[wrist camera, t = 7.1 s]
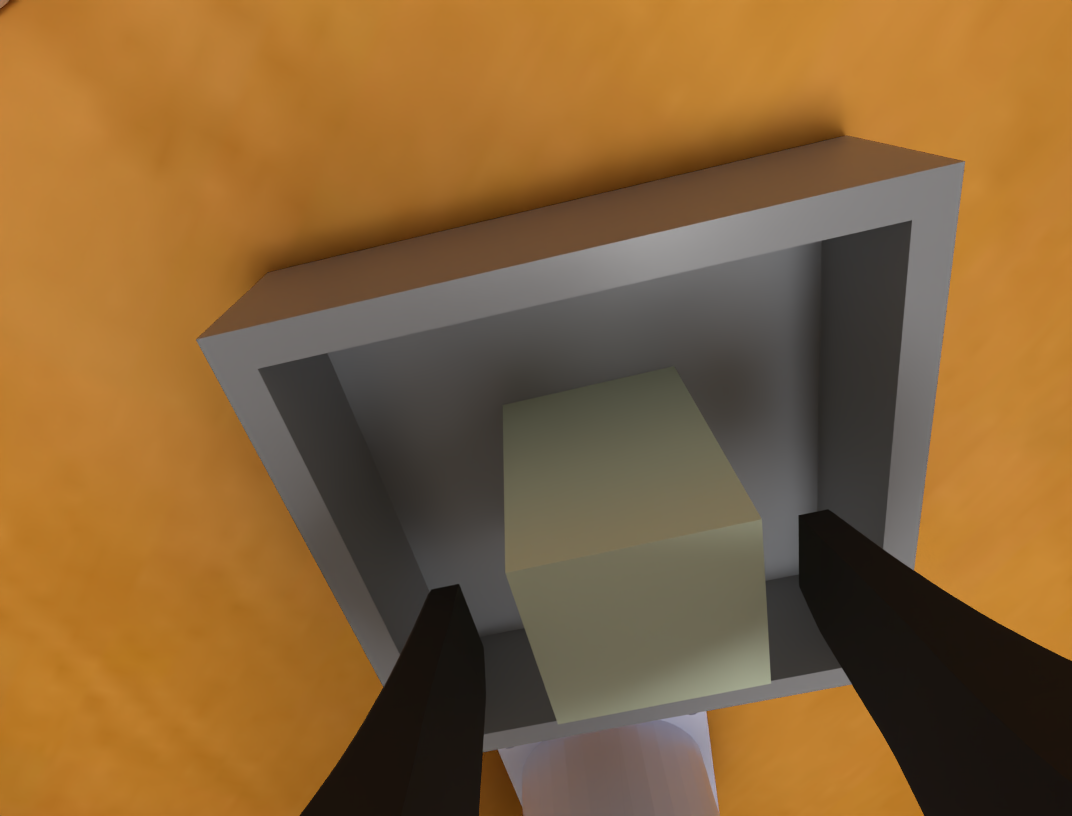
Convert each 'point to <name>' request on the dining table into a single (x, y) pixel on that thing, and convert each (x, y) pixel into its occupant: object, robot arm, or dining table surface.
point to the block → (631, 548)
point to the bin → (599, 356)
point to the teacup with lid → (3, 3)
